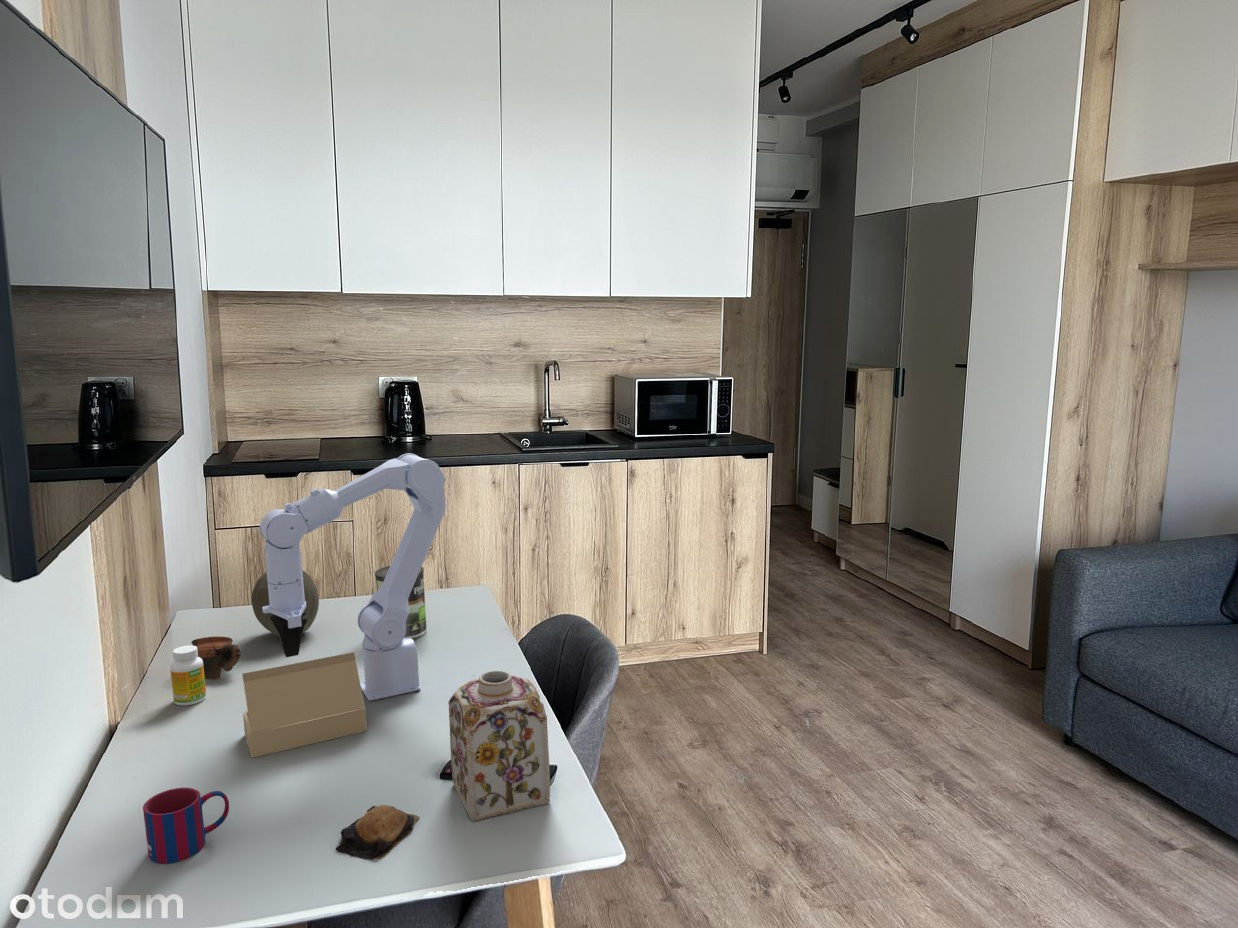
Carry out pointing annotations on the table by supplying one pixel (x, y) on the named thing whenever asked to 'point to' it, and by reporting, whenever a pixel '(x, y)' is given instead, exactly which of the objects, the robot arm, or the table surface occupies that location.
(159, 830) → the cup
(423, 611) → the coffee can
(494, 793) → the decorative jar
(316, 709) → the lid flap
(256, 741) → the carton
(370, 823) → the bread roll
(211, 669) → the pottery mug
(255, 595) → the cantaloupe
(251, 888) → the table surface
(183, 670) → the supplement bottle
